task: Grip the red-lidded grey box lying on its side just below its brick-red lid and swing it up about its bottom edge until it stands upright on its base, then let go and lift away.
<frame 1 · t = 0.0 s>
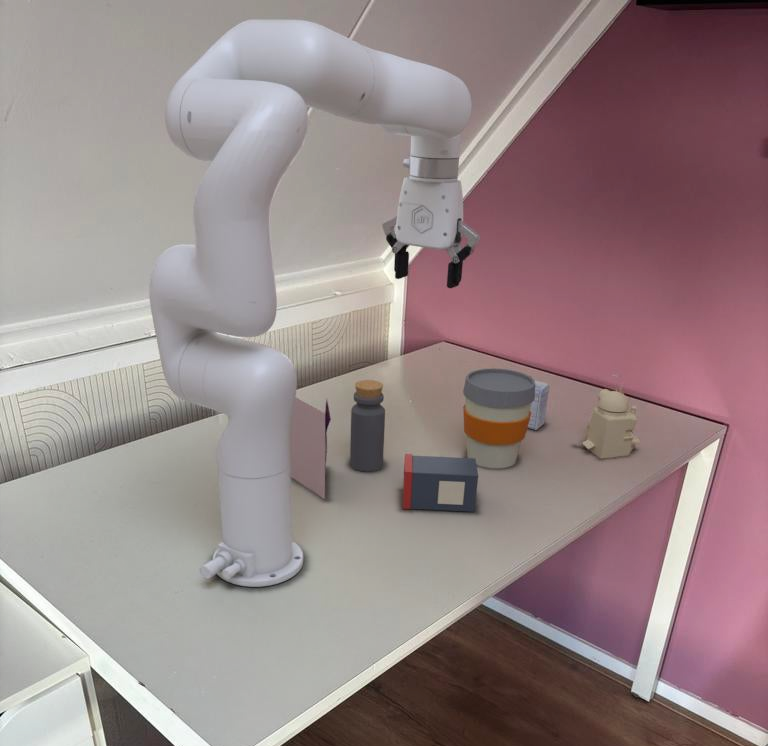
hand: (426, 281, 132), 31 cm above the table, tool pointing down, fingers open, 9 cm apart
robot: (605, 449, 153), on the table
bottle: (366, 465, 143), on the table
red-lidded grey box: (439, 482, 130), point 3 cm above the table, hinge at 0.0°
reusable coffee cup: (491, 458, 147), on the table
greeting card: (308, 484, 135), on the table
medicine box: (522, 424, 163), on the table
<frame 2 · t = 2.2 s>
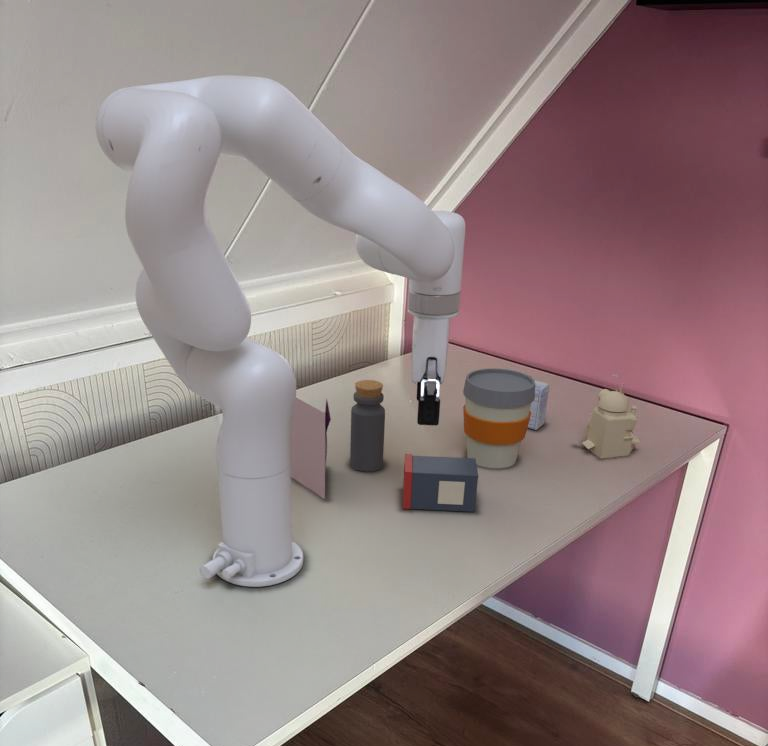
hand: (427, 412, 125), 15 cm above the table, tool pointing down, fingers open, 9 cm apart
nothing on the table moved.
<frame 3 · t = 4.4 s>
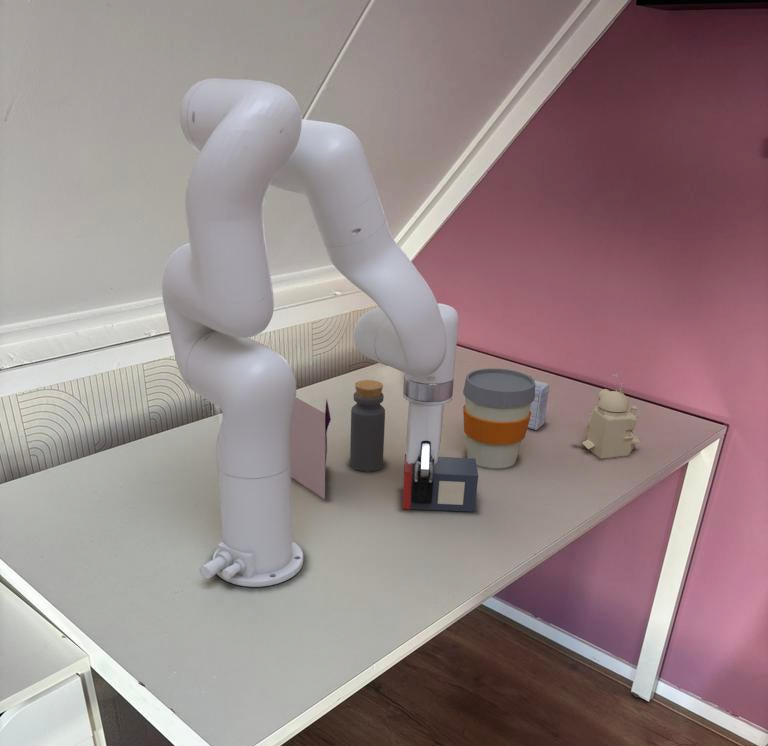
hand: (421, 491, 131), 2 cm above the table, tool pointing down, fingers closed on red-lidded grey box, 6 cm apart
red-lidded grey box: (439, 482, 130), point 3 cm above the table, hinge at 0.0°, touching gripper
everything else where it was.
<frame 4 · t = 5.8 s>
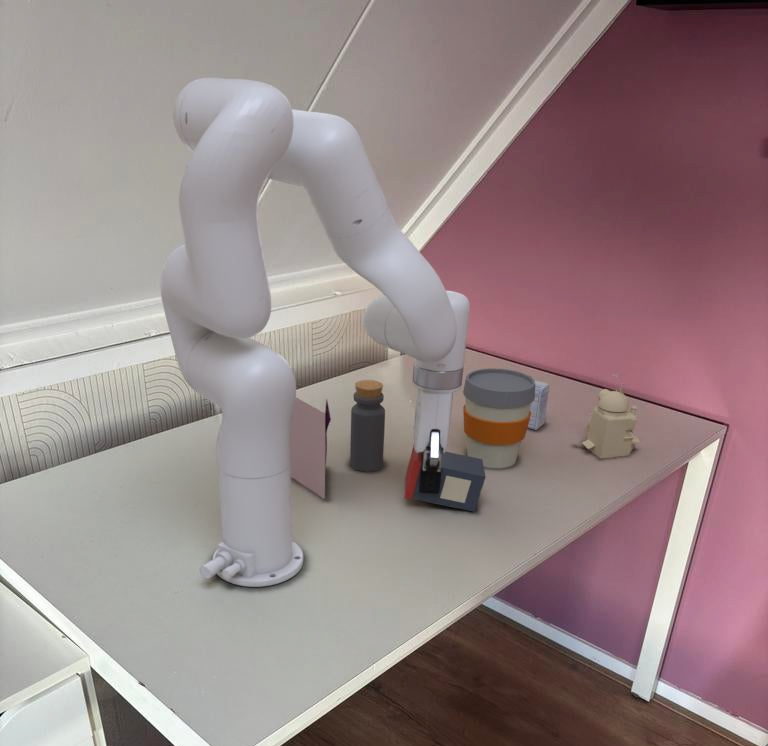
hand: (428, 481, 130), 4 cm above the table, tool pointing down, fingers closed on red-lidded grey box, 6 cm apart
red-lidded grey box: (444, 477, 129), point 4 cm above the table, hinge at 10.3°, touching gripper
everything else where it was.
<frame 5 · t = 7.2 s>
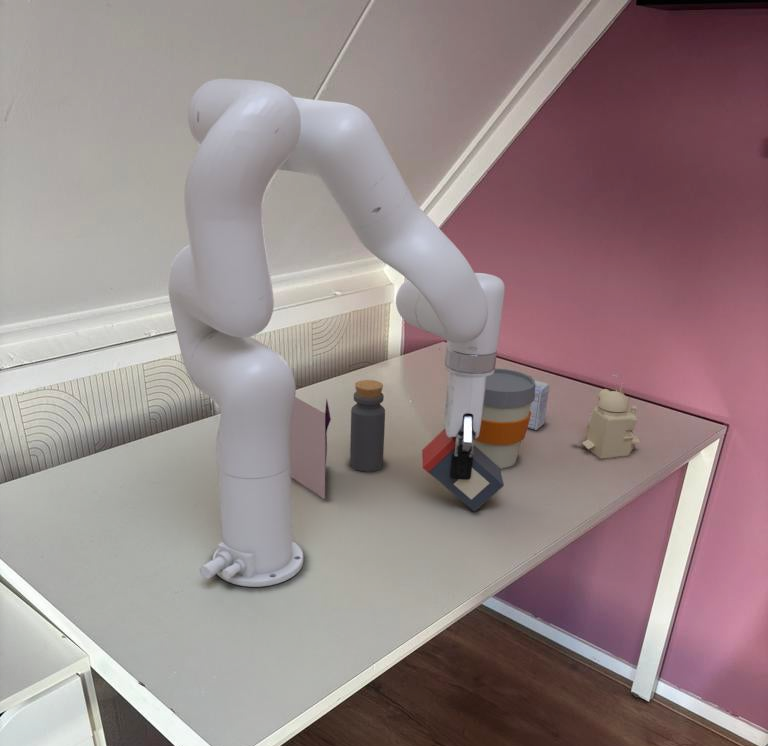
hand: (458, 467, 128), 6 cm above the table, tool pointing down, fingers closed on red-lidded grey box, 6 cm apart
red-lidded grey box: (462, 467, 128), point 6 cm above the table, hinge at 40.4°, touching gripper
everything else where it was.
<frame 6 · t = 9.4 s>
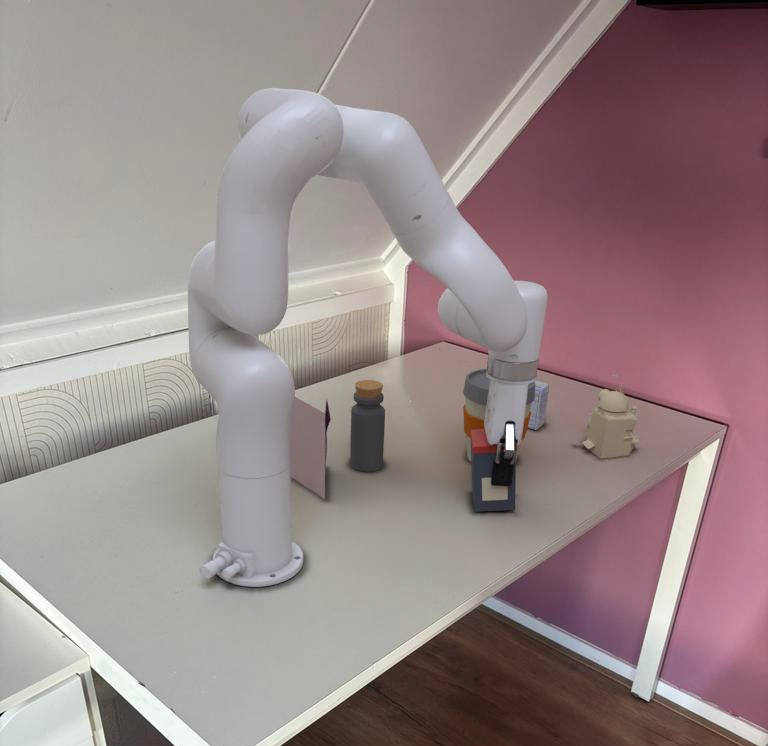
hand: (498, 474, 129), 6 cm above the table, tool pointing down, fingers closed on red-lidded grey box, 6 cm apart
red-lidded grey box: (493, 469, 128), point 6 cm above the table, hinge at 83.7°, touching gripper
everything else where it was.
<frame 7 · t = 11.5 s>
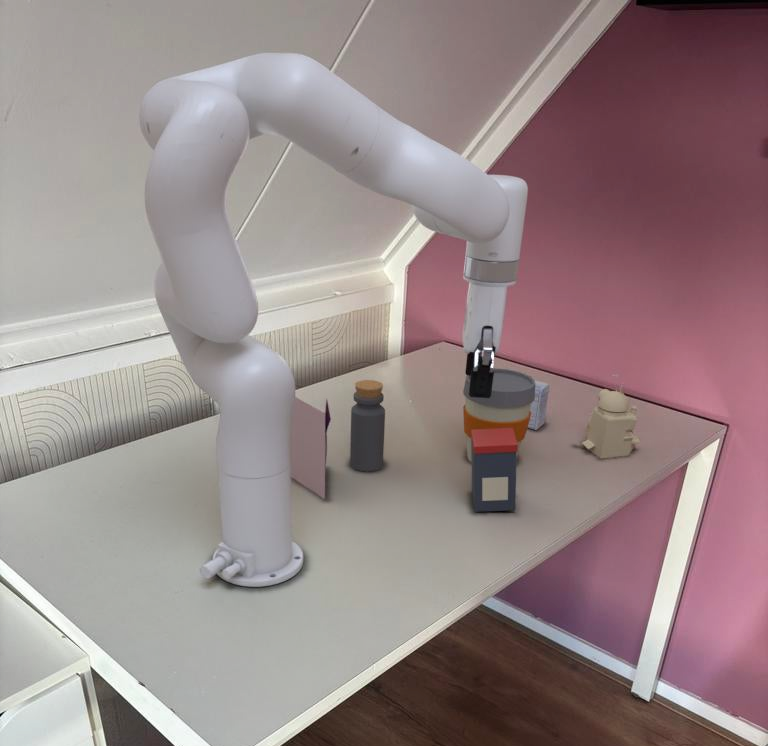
hand: (477, 385, 122), 20 cm above the table, tool pointing down, fingers open, 9 cm apart
red-lidded grey box: (493, 470, 128), point 6 cm above the table, hinge at 84.3°
everything else where it was.
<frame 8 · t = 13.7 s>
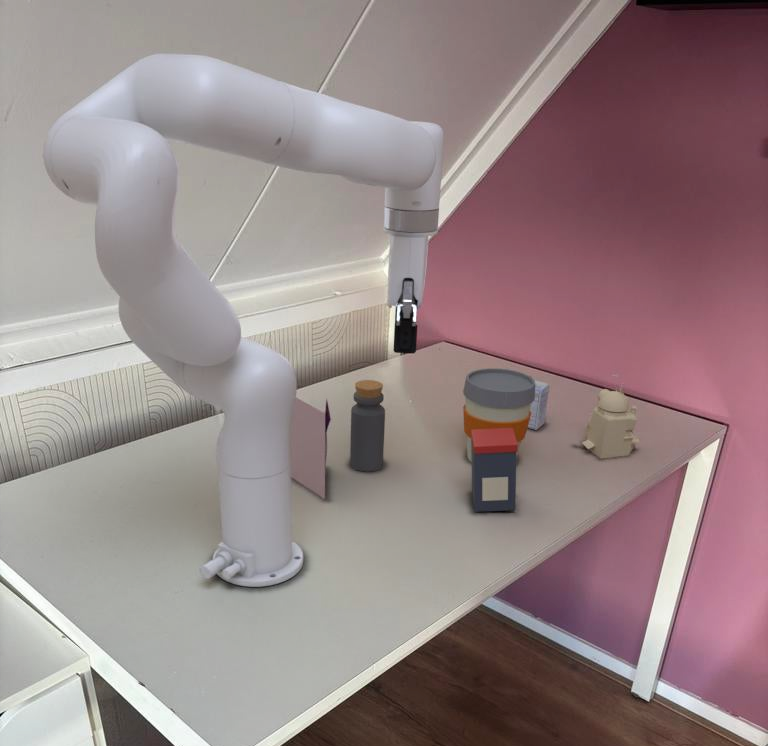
hand: (404, 342, 119), 26 cm above the table, tool pointing down, fingers open, 9 cm apart
nothing on the table moved.
at the end: red-lidded grey box at +84° (first picture: +0°); the gripper is holding nothing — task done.
